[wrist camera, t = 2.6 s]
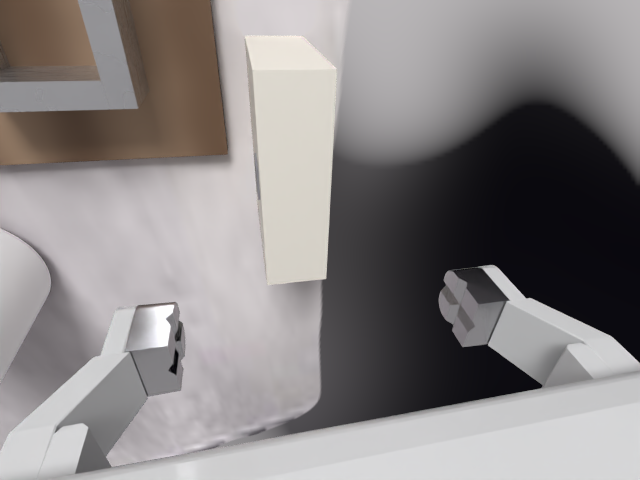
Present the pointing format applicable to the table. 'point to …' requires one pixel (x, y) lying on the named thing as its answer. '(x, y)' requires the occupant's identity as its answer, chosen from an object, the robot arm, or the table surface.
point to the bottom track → (83, 69)
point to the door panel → (292, 153)
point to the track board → (118, 124)
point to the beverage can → (19, 294)
